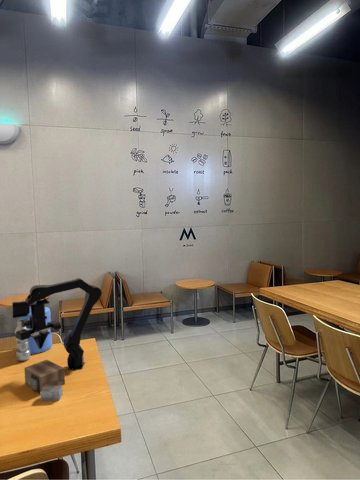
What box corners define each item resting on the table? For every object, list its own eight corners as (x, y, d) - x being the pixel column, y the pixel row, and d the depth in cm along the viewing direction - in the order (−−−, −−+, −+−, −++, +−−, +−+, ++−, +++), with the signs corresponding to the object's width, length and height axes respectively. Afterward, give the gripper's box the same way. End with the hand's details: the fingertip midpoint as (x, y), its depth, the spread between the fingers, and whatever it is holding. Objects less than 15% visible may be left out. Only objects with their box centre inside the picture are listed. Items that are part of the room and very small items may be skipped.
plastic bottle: (33, 357, 168) (31, 318, 167) (26, 362, 161) (23, 322, 160) (21, 356, 169) (19, 318, 167) (13, 362, 162) (11, 322, 161)
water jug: (41, 355, 170) (38, 301, 168) (14, 353, 173) (10, 301, 171) (58, 343, 185) (55, 294, 183) (33, 342, 188) (30, 294, 186)
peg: (47, 380, 141) (46, 371, 141) (52, 383, 138) (51, 374, 138) (31, 387, 135) (30, 378, 135) (36, 390, 133) (35, 380, 133)
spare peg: (62, 395, 131) (62, 385, 131) (59, 400, 127) (58, 390, 127) (44, 396, 131) (44, 386, 130) (40, 401, 127) (40, 391, 126)
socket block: (47, 374, 148) (46, 359, 148) (64, 383, 140) (64, 367, 139) (25, 383, 141) (24, 368, 140) (42, 394, 132) (41, 377, 131)
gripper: (48, 306, 159) (50, 338, 160) (8, 316, 145) (10, 351, 146) (61, 310, 152) (62, 343, 153) (20, 321, 138) (22, 357, 139)
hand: (40, 348), depth 148 cm, fingers closed
